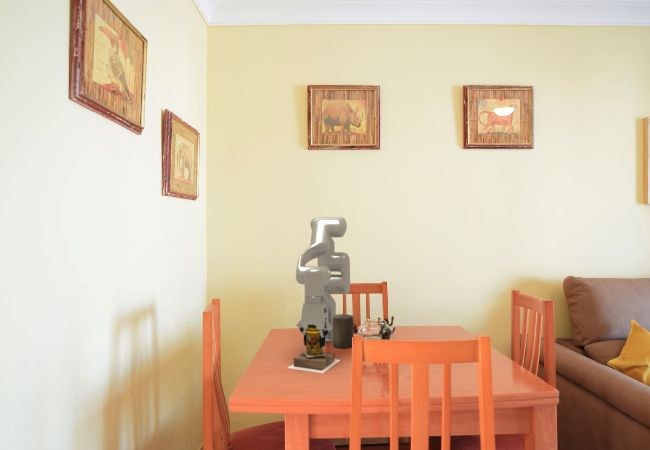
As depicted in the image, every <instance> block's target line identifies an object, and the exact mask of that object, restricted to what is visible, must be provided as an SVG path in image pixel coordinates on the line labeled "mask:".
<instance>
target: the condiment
mask: <svg viewBox="0 0 650 450" xmlns="http://www.w3.org/2000/svg"><path fill="white" fill-rule="evenodd" d="M320 337H321V335H320V332H319V330H317V328H316V325H308V328H307V331H306V346H305V349H306V350H301V352H302V353H304V354H305V355H306V356H307V357H317V356H322V355H326V354H324V353H323V352H324V351H323V347H322V348H320Z"/></svg>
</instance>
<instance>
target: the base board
mask: <svg viewBox="0 0 650 450" xmlns="http://www.w3.org/2000/svg"><path fill="white" fill-rule="evenodd" d="M340 361H341V359H336V358H335V361H334V362H333V363H332V364H330V365H329V366H327V367H326V368H325V369H323V370H315V369H308V368H301V367H295V366H294V363H293V364H291V365H289V366H287V369H293V370H298V371H299V370H300V371H305V372H313V373H317V374H325V372H327V371H328V370H330V368H332V367H333V366H335V365H336V364H337V363H338V362H340Z"/></svg>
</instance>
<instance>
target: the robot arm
mask: <svg viewBox="0 0 650 450" xmlns="http://www.w3.org/2000/svg"><path fill="white" fill-rule="evenodd" d="M347 223H348V222H347V220H346V219H345V217H342V216H336V217H335V216H330V217H329V216H328V217H327V216H324V217H323V216H320V217H314V218H312V219H311V220H310V230H311V236H310V245H309V246H308V247H307V248H306V249H305V250H304V251H302V253H301V254H300V256H299V257H298V258H297V259H298V260H297V264H296V271H295V280H296V282H297V283H298V284H300V285H304V302H303V303H302V309H301V317H300V319H299V321H298V323H296V327H297V328H298V330H299V331H300V332H301V334H302V336H303V344H304V345H303V346H305V347H306V331H307V328H308V325H316V328H317V330H319V332H320V335H321V337H320V348H322V349H323V348H324V347H325V345H326V343H329V342H330V343H333V316H334V315H337V304H336V300H335V299H334V297H333V296H332V295H347V294H348V293H350V291H351V290H350V289H351V261H350V256H349V254H348V253H346V252H343V251H341V252H338V251H335V250H336V249H335V241H334V239H333V238H343V237H344V236H345V234H346V231H347V227H348V225H347ZM314 259H317V265H316V266H315V265H309V266H307V263H308V262H310V261H312V260H314ZM332 272H334V273H333V274H332ZM335 272H336V273H337V272H339V273H340V274H338V273H337V274H335Z"/></svg>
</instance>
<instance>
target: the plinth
mask: <svg viewBox="0 0 650 450" xmlns="http://www.w3.org/2000/svg"><path fill="white" fill-rule="evenodd" d="M322 352H323V353H324V354H326V355H322V356H317V357H307V356H306V355H305V354H304V353H303V352H302V353H301V354H299V355H297V356H296V357H294V358H293V364H294V366H295V367H301V368H308V369H315V370H323V369H325V368H326V367H327V366H329V365H330V364H332V363H333V362H334V361H335V359H336V358H335V353H333V352H332V353H330V352H324V351H322Z"/></svg>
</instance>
